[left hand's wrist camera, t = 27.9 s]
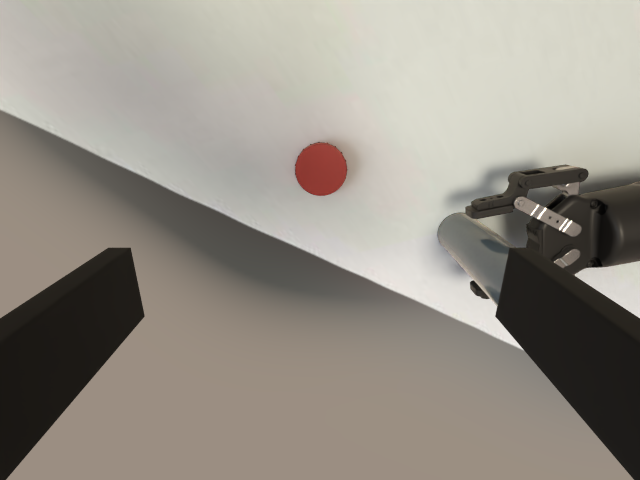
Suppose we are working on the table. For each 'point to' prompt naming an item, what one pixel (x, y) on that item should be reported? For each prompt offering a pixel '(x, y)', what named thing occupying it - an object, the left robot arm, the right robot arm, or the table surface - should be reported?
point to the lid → (321, 169)
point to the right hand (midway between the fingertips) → (470, 252)
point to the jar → (476, 251)
